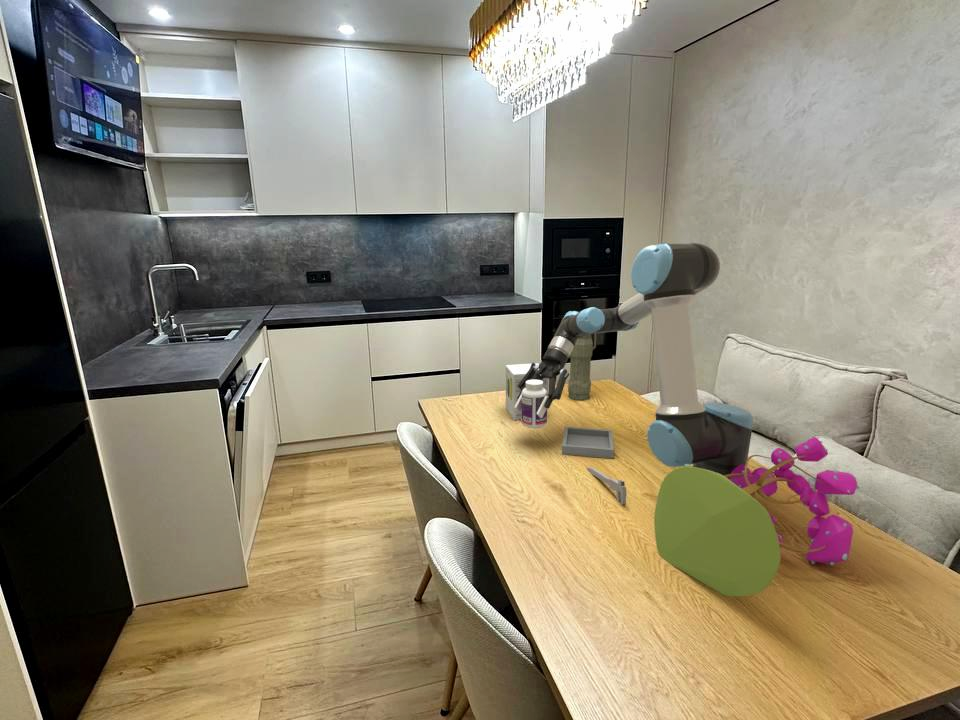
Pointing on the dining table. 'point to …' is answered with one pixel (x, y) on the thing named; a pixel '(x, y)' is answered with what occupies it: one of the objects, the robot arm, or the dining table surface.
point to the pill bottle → (533, 404)
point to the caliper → (612, 484)
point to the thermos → (581, 368)
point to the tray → (588, 442)
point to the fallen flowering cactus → (746, 520)
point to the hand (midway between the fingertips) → (527, 412)
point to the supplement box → (512, 390)
